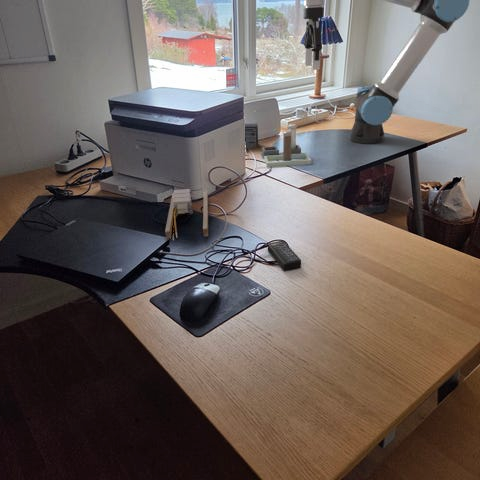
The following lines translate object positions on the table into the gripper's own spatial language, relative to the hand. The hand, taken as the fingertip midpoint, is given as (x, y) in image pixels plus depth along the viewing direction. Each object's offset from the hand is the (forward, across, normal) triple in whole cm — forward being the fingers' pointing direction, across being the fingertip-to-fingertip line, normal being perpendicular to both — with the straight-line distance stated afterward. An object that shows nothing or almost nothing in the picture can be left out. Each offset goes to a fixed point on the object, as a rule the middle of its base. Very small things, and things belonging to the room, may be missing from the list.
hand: (311, 67), depth 168 cm
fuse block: (+33, +10, -14) cm, 37 cm away
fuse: (+32, +10, -10) cm, 35 cm away
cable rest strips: (+33, +62, -50) cm, 86 cm away
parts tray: (+33, +19, -13) cm, 40 cm away
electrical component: (+33, +65, -52) cm, 89 cm away
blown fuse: (+32, +19, -13) cm, 40 cm away
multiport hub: (+33, +90, -26) cm, 100 cm away
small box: (+33, -6, -27) cm, 43 cm away
